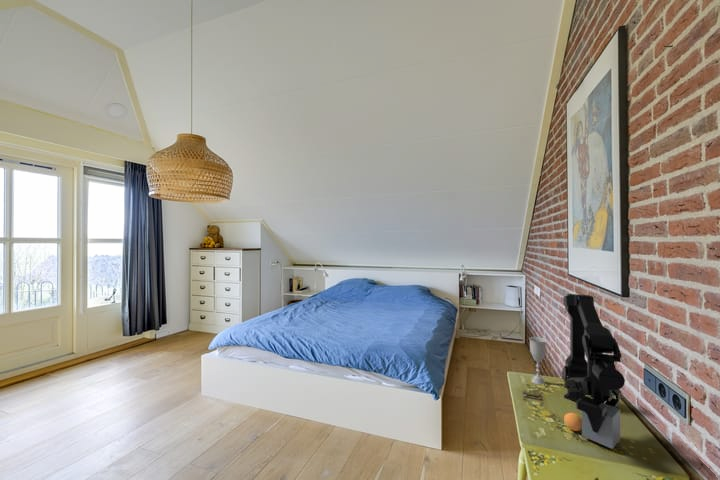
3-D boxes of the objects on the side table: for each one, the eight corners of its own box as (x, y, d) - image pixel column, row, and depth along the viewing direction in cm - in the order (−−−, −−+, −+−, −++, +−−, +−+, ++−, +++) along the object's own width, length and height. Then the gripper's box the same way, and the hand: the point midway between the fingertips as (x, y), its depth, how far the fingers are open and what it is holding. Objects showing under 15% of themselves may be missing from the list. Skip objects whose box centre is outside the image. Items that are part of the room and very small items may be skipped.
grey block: (590, 426, 98) (590, 398, 98) (620, 438, 92) (620, 409, 92) (581, 435, 94) (581, 406, 94) (612, 449, 88) (612, 417, 88)
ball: (584, 413, 98) (586, 429, 98) (566, 408, 102) (568, 424, 102) (578, 419, 95) (580, 436, 95) (560, 413, 99) (562, 429, 99)
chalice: (550, 386, 127) (550, 342, 127) (532, 385, 129) (531, 341, 129) (543, 378, 135) (543, 337, 135) (526, 377, 136) (526, 336, 136)
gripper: (579, 359, 105) (580, 405, 105) (556, 374, 94) (556, 425, 94) (621, 370, 96) (622, 420, 96) (601, 387, 85) (602, 445, 85)
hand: (599, 427), depth 93 cm, fingers closed on grey block, 7 cm apart
